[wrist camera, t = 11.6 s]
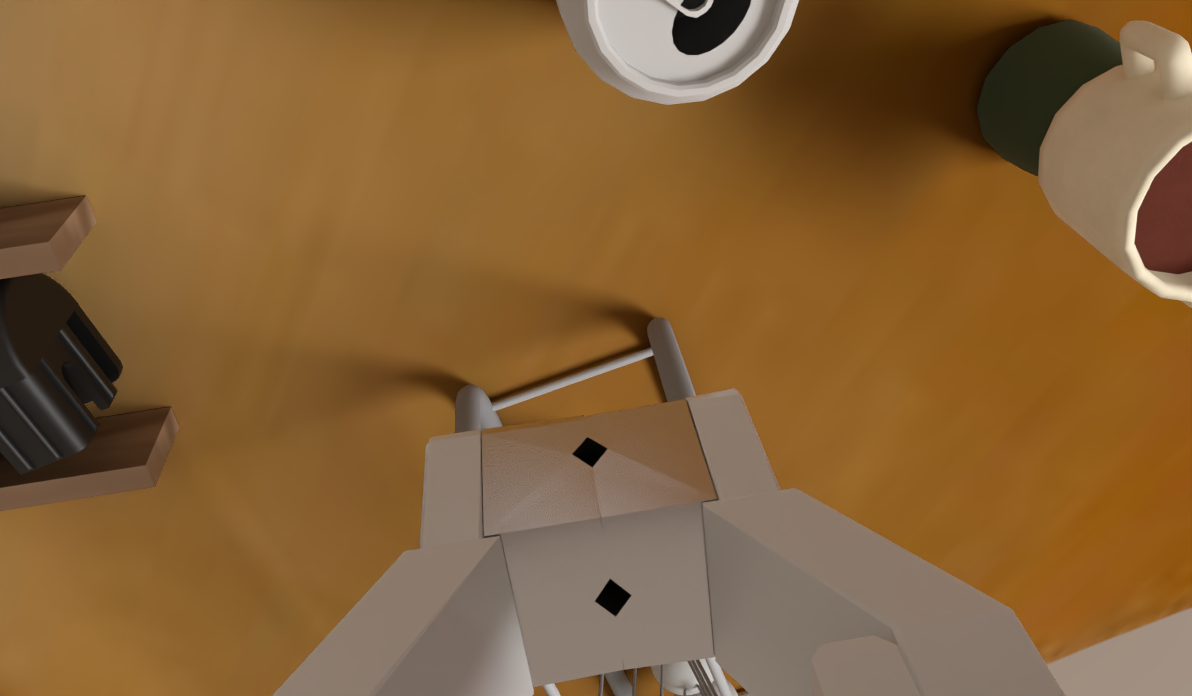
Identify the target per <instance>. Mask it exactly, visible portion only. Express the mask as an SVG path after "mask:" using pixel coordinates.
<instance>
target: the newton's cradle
mask: <svg viewBox="0 0 1192 696" xmlns="http://www.w3.org/2000/svg"><path fill="white" fill-rule="evenodd" d="M647 334H648V338H649V341H650V344H651V347H650V348H648V349H645V350H642V351H639V352H636V353H633V354H631V355H628V356H625V357H622V358H619V359H616V360H614V361H611V362H608V363H605V364H602V365H599V366H597V367H594V368H591V369H588V370H585V371H582V372H580V373H577V374H574V375H571V376H568V377H565V378H563V379H560V380H557V381H554V382H551V383H548V384H546V385H543V386H540V387H537V388H534V389H531V390H529V391H526V392H523V393H520V394H517V395H514V396H511V397H509V398H506V399H503V400H500V401H497V402H494V403H491V402H490V400H489V398H488V396H487V395H486V394H485V392H484V391H483V390H482V389H481V388H479V387H477V386H476V385H472V384H471V385H466V386H464V387H463V388H462V389H460V390H459V392H458V393H457V397H456V409H455V433H460V432H467V431H473V430H480V431H483V429H487V428H495V427H502V426H503V425H502V423H501V421H500V419H499V417H498V415H497V413H496V410H499V409H502V408H505V407H508V406H511V405H513V404H516V403H519V402H522V401H525V400H528V399H530V398H533V397H536V396H539V395H542V394H545V393H547V392H550V391H553V390H556V389H559V388H562V387H565V386H567V385H570V384H573V383H576V382H579V381H582V380H584V379H587V378H590V377H593V376H596V375H599V374H601V373H604V372H607V371H610V370H613V369H616V368H619V367H621V366H624V365H627V364H630V363H633V362H636V361H638V360H641V359H644V358H647V357H650V356H653V355H654V358H655V361H656V365H657V368H658V372H659V375H660V378H661V382H662V385H663V389H664V392H665V395H666V399H667V402H671V401H677V400H682V399H685V398H687V397H693V396H696V394H695V391H694V388H693V385H692V382H691V380H690V377H689V374H688V371H687V369H686V366H685V363H684V360H683V358H682V355H681V352H680V349H679V346H678V344H677V341H676V338H675V335H674V333H673V330H672V327H671V325H670V323H669V322H668V321H667V320H666V319H664V318H655V319H653V320H651V321H650V323H649V324H648V327H647ZM651 670H652V673H653V675H654V677H655V678H656V680H657V681H658V683H659V684H660V696H663V687H664V688H665V689H666V690H668V691H670V692H672V693H674V694H675V695H674V696H751V695H750V694H749V693H748V692H745V693H742V694H739V695H738V694H737V692H736V690H735V688H734V687H733V686H732V684H731V683H730V682H729V681H728V680H726V679H725V677H724V674H723V672H722V669H721V667H720V665H719V664H718V663H717V662H716V661H715V657H713V658H706V659H699V660H691V661H684V662H677V663H670V664H662V665H655V666H651ZM604 676H605V677H606V679H607V681H608V683H609V685H610V687H611V689H612V691H613V693H614V695H615V696H636V679H637V668H634V669H633V688H632V686H631V684H630V682H629V680H628V678H627V676H626V674H625V672H624V670H620V671H615V672H610V673H604V674H600V682H599V694H598V696H602V693H603V681H604ZM542 686H543V688H544V690H545V691H546V693H547V695H548V696H561V695H560V693H559V691H558V689H557V688H556V686H555V684H554V683H553V684H548V685H542Z"/></svg>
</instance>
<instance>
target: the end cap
mask: <svg viewBox="0 0 1192 696" xmlns="http://www.w3.org/2000/svg"><path fill="white" fill-rule="evenodd" d="M122 368H123V366H122V364H121V361H120V360H119V358H118V357H117V356H116V354H115V353H114V352H113V350H112V349H111V348H110V346H109V345H108V344H107V342H106V341H105V340H104V338H103V337H102V336H101V334H100V333H99V332H98V330H97V329H96V328H95V326H94V325H93V324H92V322H91V321H90V320H89V318H88V317H87V316H86V314H85V313H84V312H83V310H82V309H81V308H80V306H79V305H78V303H77V302H76V300H75V299H74V298H73V297H72V296H71V294H70V293H69V292H68V291H67V290H66V289H64V288H63V287H62V286H61V285H60V284H59V283H57V282H56V281H55V280H53V279H52V278H50V277H48V276H46V275H44V274H42V273H38V274H31V275H25V276H18V277H11V278H5V279H0V452H1V453H2V454H3V455H4V457H5V458H6V459H7V460H8V461H9V462H10V463H11V465H12V466H13V467H14V468H15V469H16V470H17V471H18V473H19V474H20V475H22V474H25V473H27V472H30V471H33V470H35V469H38V468H40V467H43V466H45V465H48V464H51V463H53V462H56V461H58V460H61V459H63V458H66V457H69V456H71V455H73V454H76V453H78V452H79V451H81V450H82V449H84V448H85V447H86V446H87V445H88V444H89V443H90V442H91V440H92V439H93V437H94V435H95V433H96V431H97V429H98V427H99V425H100V424H99V423H98V421H97V420H96V419H95V418H94V416H93V415H92V414H91V413H90V411H89V410H88V409H87V408H86V406H85V405H84V404H85V403H88V402H90V401H94V403H95V404H96V405H97V406H98V408H99V409H100V410H104V409H106V408H109V406H110V405H111V403H112V401H113V399H114V397H115V395H116V393H117V389H116V388H115V387H114V385H113V384H112V382H114V381H116V380H117V379H118V378H119V376H120V374H121V372H122Z"/></svg>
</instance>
